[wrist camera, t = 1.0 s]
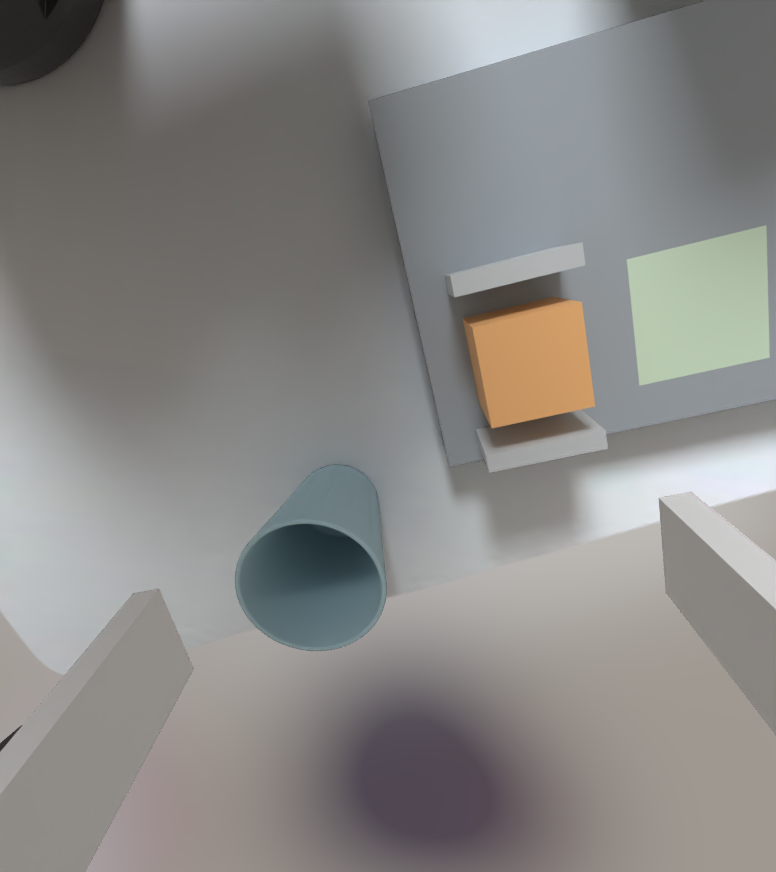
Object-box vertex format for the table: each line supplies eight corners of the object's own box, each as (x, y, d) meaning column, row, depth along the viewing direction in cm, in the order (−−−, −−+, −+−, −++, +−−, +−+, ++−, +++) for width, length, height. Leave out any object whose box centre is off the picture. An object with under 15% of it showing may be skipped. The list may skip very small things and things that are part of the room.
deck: (372, 118, 28) (358, 66, 21) (925, -45, 25) (1129, -170, 18) (446, 450, 34) (454, 497, 27) (904, 353, 31) (1052, 378, 24)
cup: (404, 460, 34) (399, 537, 25) (383, 558, 37) (371, 664, 27) (293, 438, 34) (243, 506, 24) (279, 537, 37) (229, 636, 27)
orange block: (462, 318, 28) (472, 327, 24) (553, 296, 28) (581, 301, 23) (479, 403, 30) (491, 428, 25) (565, 384, 29) (595, 406, 25)
